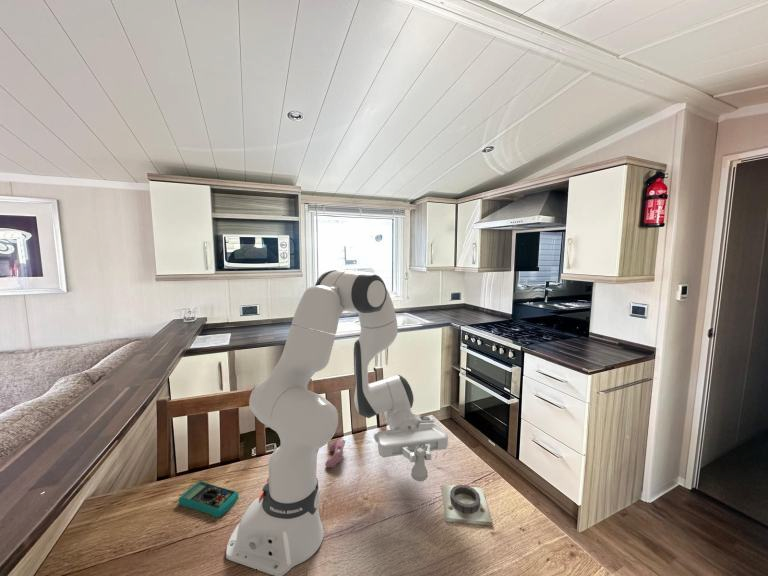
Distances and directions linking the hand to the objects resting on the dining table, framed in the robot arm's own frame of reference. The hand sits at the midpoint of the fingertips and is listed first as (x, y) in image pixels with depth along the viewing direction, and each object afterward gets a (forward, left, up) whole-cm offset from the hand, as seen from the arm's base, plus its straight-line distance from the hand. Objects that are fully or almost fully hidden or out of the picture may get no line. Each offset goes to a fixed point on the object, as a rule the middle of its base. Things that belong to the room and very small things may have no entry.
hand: (421, 458), depth 82 cm
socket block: (+13, +5, -17) cm, 22 cm away
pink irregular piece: (-28, +21, -17) cm, 39 cm away
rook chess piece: (0, +1, -6) cm, 6 cm away
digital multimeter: (-59, -1, -18) cm, 62 cm away
